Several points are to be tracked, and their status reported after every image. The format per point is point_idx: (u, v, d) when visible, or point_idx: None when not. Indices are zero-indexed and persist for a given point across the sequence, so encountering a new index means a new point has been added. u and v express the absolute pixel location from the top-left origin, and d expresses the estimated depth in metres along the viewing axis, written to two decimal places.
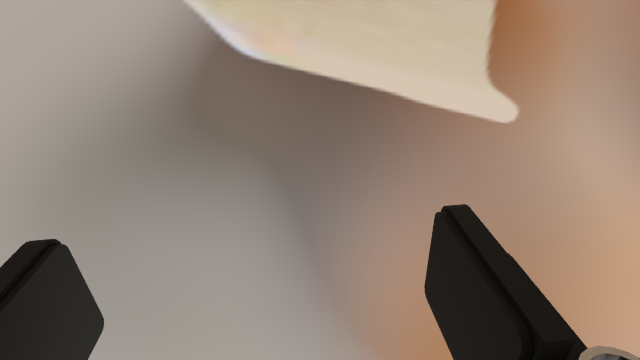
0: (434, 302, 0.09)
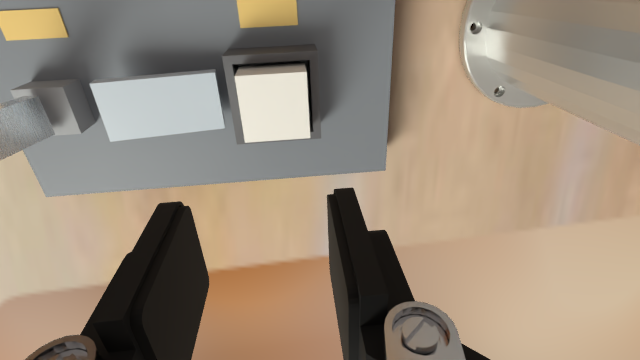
0: (332, 278, 0.10)
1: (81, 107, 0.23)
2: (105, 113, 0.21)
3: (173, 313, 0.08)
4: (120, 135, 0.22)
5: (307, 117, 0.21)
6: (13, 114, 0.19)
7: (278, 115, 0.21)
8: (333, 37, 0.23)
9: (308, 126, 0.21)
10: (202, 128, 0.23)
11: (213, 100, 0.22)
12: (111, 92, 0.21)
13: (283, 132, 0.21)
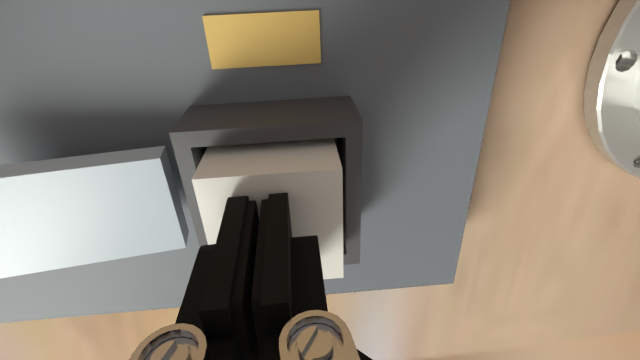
0: None
1: None
2: None
3: None
4: None
5: (339, 246, 0.11)
6: None
7: None
8: (385, 84, 0.12)
9: (340, 260, 0.11)
10: (143, 250, 0.13)
11: (160, 205, 0.12)
12: None
13: None
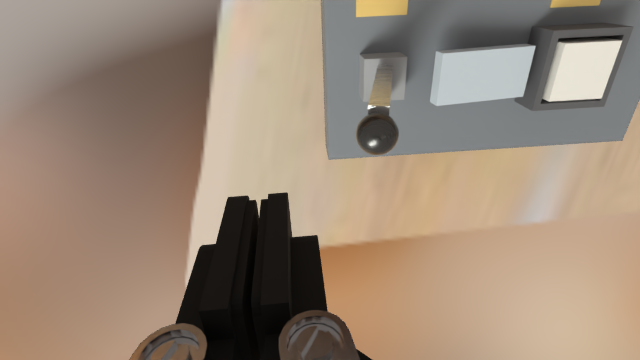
0: None
1: None
2: (443, 80, 0.25)
3: None
4: (446, 100, 0.25)
5: (606, 80, 0.25)
6: None
7: (584, 78, 0.25)
8: (623, 16, 0.26)
9: (604, 88, 0.26)
10: (506, 96, 0.26)
11: (524, 71, 0.26)
12: (455, 61, 0.24)
13: (582, 92, 0.26)
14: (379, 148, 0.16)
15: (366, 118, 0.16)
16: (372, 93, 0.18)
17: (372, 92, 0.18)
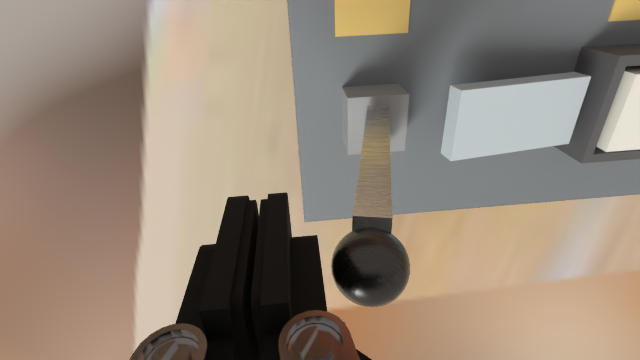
0: None
1: None
2: (461, 127, 0.17)
3: None
4: (464, 153, 0.18)
5: None
6: None
7: None
8: None
9: None
10: (547, 144, 0.19)
11: (573, 110, 0.18)
12: (479, 101, 0.17)
13: None
14: (375, 304, 0.09)
15: (349, 245, 0.09)
16: (360, 177, 0.11)
17: (360, 175, 0.11)
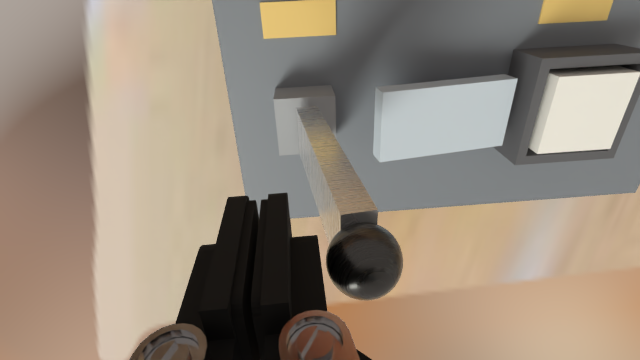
0: None
1: None
2: (386, 128, 0.17)
3: None
4: (392, 154, 0.18)
5: (617, 125, 0.18)
6: None
7: (586, 123, 0.18)
8: None
9: (614, 135, 0.18)
10: (479, 145, 0.19)
11: (503, 112, 0.18)
12: (402, 103, 0.17)
13: (584, 142, 0.19)
14: (381, 294, 0.09)
15: (346, 243, 0.09)
16: (327, 177, 0.11)
17: (326, 175, 0.11)
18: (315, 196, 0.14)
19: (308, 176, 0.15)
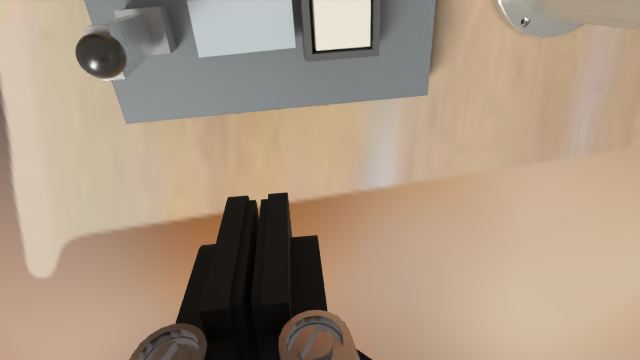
0: None
1: (169, 31, 0.26)
2: (197, 30, 0.24)
3: None
4: (208, 51, 0.25)
5: (369, 26, 0.26)
6: (140, 23, 0.23)
7: (345, 25, 0.25)
8: None
9: (369, 35, 0.26)
10: (276, 47, 0.26)
11: (287, 20, 0.26)
12: (204, 9, 0.24)
13: (348, 40, 0.26)
14: (102, 66, 0.16)
15: (81, 38, 0.16)
16: (98, 23, 0.18)
17: (99, 23, 0.18)
18: None
19: None
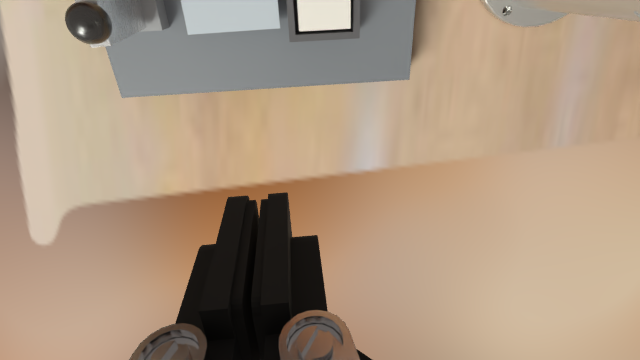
0: None
1: (161, 9, 0.28)
2: (186, 8, 0.26)
3: None
4: (196, 29, 0.27)
5: (349, 9, 0.27)
6: (132, 0, 0.24)
7: (326, 7, 0.27)
8: None
9: (349, 17, 0.27)
10: (261, 27, 0.28)
11: (272, 1, 0.27)
12: None
13: (329, 22, 0.27)
14: (88, 32, 0.17)
15: None
16: None
17: None
18: None
19: None
